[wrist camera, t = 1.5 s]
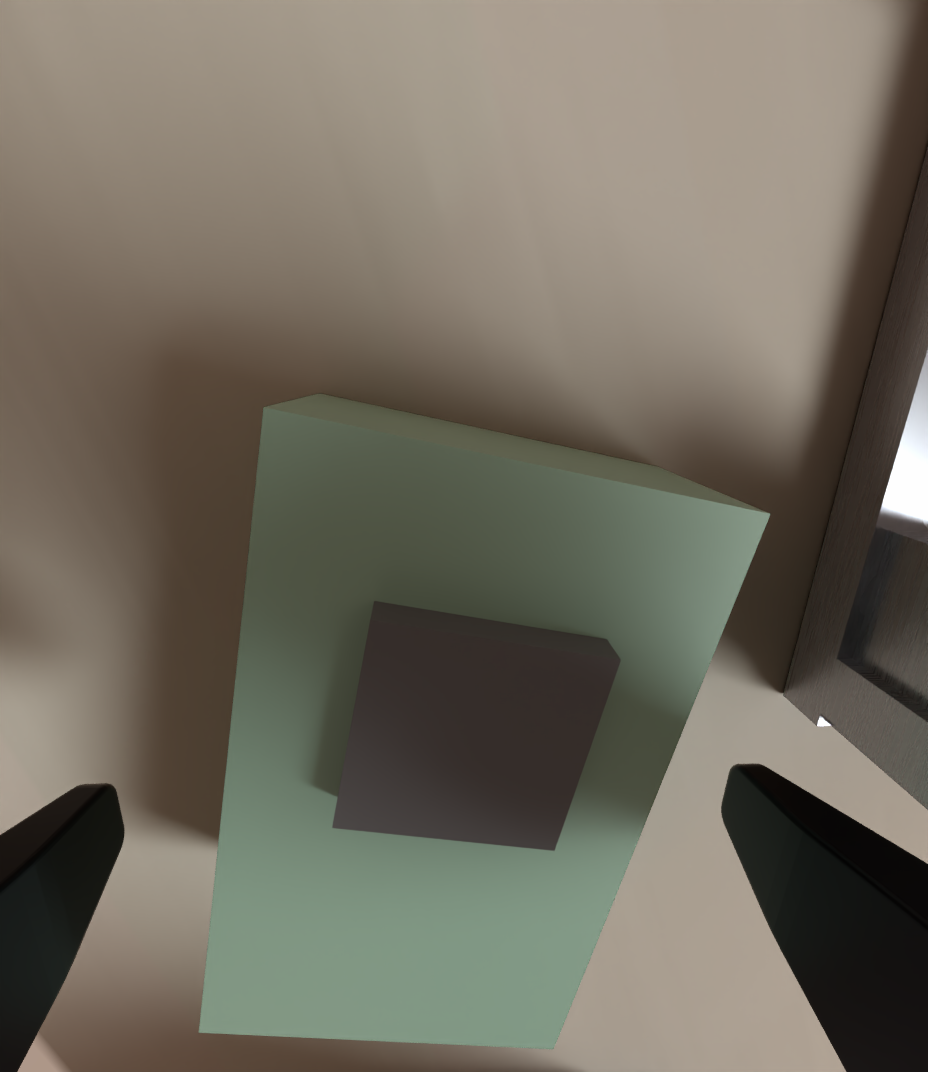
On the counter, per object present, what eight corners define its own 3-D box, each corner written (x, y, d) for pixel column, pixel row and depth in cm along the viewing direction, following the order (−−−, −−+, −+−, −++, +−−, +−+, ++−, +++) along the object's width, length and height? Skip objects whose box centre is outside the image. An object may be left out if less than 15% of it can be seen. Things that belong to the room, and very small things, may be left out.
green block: (518, 867, 12) (560, 1086, 9) (262, 842, 12) (185, 1073, 8) (649, 463, 10) (799, 525, 6) (323, 392, 9) (248, 410, 5)
